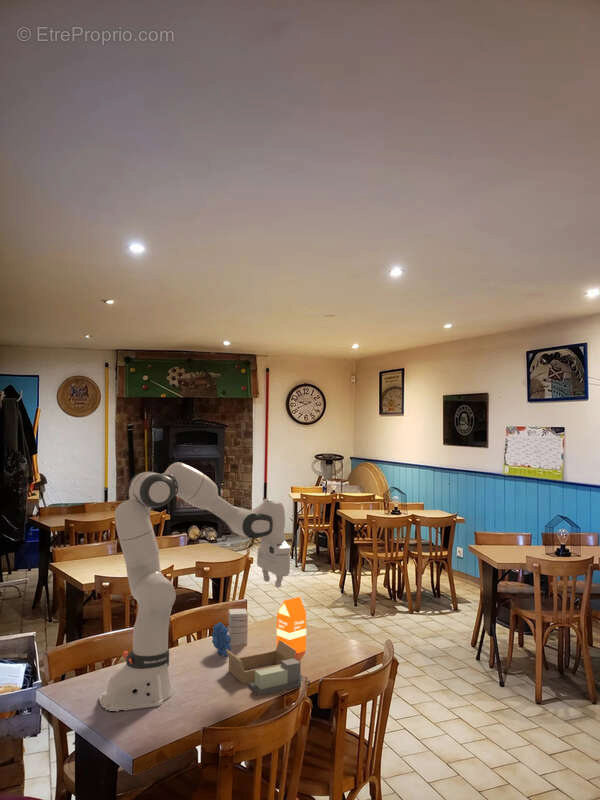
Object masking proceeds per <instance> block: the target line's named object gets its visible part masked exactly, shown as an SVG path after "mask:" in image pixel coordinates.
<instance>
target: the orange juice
mask: <svg viewBox="0 0 600 800" xmlns="http://www.w3.org/2000/svg"><path fill="white" fill-rule="evenodd" d="M279 640H281V641H282V642H284V643H285V644H287V645H288V646H290V647H292V648H293V649H295V650H296V653H297V654H299V653H303V652H306V651H307V611H306V609H305V607H304V604H303V601H302V599H301V597H300V596H299V597H293V598H290V599H286V600H285V599H284V600H283V601H282V604H281V606H280V607H279V609H278V611H277V613H276V646H277V645H278V642H279ZM305 650H306V651H305ZM302 651H303V652H302Z"/></svg>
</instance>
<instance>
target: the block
mask: <svg viewBox="0 0 600 800" xmlns="http://www.w3.org/2000/svg"><path fill="white" fill-rule="evenodd" d="M300 674H301V662H300V661H299V660H297V659H296V658H293V659H288V660H283V661H281V666H276V667H271V668H266V669H261V670H256V671H255V685H256V686H257V687H258V688H259V689H265V688H270V687H274V686H279V685H283V684H288V683H292V682H297V681H300Z"/></svg>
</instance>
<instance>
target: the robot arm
mask: <svg viewBox="0 0 600 800" xmlns="http://www.w3.org/2000/svg"><path fill="white" fill-rule="evenodd" d="M218 491H219V490H218V485H217V484H216V483H215V482H214V481H213V480H212V479H211V478H210V477H209V476H207V475H206V474H204V473H203V472H202V471H200V470H198V469H197V468H194V467H192V466H190V465H188V464H186V463H183V462H179V461H177V462H173V463H172V464H170V465H169V466H168V467H167V468H166V470H165V471H164V472H163V473H157V472H154V471H141V472H138V473H136V474H134V475H133V476H132V478H131V479H130V481H129V483H128V487H127V492H126V496H125V501H123V502H120V503H119V505H117V506H116V508H115V511H114V522H115V526H116V527H115V528H116V533H117V536H118V537H117V538H118V540H119V544H120V548H121V551H122V554H123V555H122V556H123V558H124V562H125V568H126V574H127V575H126V576H127V580H128V586H129V591H130V594H131V596H132V597H133V598H134V600H136V602H137V614H136V618H135V619H136V620H135V623H134V625H133V627H132V628H133V634H132V637H133V638H132V650H131V651H130V652H128V650H125V651H123V653H122V654H121V655H122V657H123V659H124V660H125V661H126V664H124V665H123V666H122V667H121V668H120V669H119V670H118V671H116V672H115V673H114V674H113V675H112V676H111V677H110V678H109V680H108V681H107V682H108V683H107V687H106V688H107V689H106V690H105V691H102V692H101V694H100V695H99V697H98V698H99V699H98V702H100V703H99V705H100V704H101V705H100V706H102V707H103V708H105V709H107V710H109V711H116V712H120V711H119V710H124V711H129V710H138V709H146V708H154V707H159V706H161V705H162V704H163V703H164V701H166V700H167V699H169V698H171V696H172V693H173V690H172V688H171V683H170V677H169V665H170V648H169V624H170V623H169V622H170V618H171V615H172V613H171V612H172V608H173V606H174V603H175V601H176V597H177V594H176V589H175V587H174V585H173V583H172V581H170V579H168V578H167V577H165V576H164V574H163V573H162V570H161V565H160V557H159V556H160V549H159V545H158V541H157V538H156V534H155V530H154V527H153V524H152V521H151V510H152V508H154V509H155V508H157V509H158V508H161V507H164V506H165V505H167V504H168V503H169V502H170V501H171V500H172V499H173V498H174V497H178V498H179V499H181V500H182V501H183V502H185V503H186V504H188V505H191V506H193V507H195V508H198V509H201V510H207V511H208V512H210V513H212V514H213V515H215V516H216V517H217V518H219V519H221V520H222V522H224V523H225V525H226V527H227V529H228V530H229V531H230V532H231V533H232V534H234V535H236V536H242V537H243V538H247V539H250V540H254V539H259V538H260V545H259V547H258V549H257V554H256V555H257V556H256V557H257V558H256V565H257V567H259V568H261V571H262V575H263V581H264V582H270V579H271V578H270V575H269V573H272V574H274V575H275V578H276V581H274V586H275V588H281V587H282V582H283V579H284V577H288V576H289V575H290V569H291V556H290V554H291V553H292V549H291V546H290V545H289V544H288V543H287V541H286V535H285V528H286V512H285V507H284V505H283V503H281V502H279V501H273V500H269V499H268V500H264V501H262V503H261V504H259V505H258V506H256V507H255V508H252V509H247V508H245V507H242V506H234V505H232V504H231V503H229V502H228V501H226V500H225V499H224V498H222V497H221V496H219V492H218ZM102 707H101V708H102ZM103 708H102V709H103ZM105 709H104V710H105ZM107 710H106V711H107ZM109 711H108V712H109Z"/></svg>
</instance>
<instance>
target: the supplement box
mask: <svg viewBox="0 0 600 800" xmlns="http://www.w3.org/2000/svg"><path fill="white" fill-rule="evenodd" d="M248 621H249V614H248V611H247V608H231V609H228V627H227V629H228V633H227V634H228V635H229V636H230V637H231V642H230V643H229V644H230V645H231V646H232V647H239V646H240V647H241V646H248V627H249V626H248V625H249V624H248V623H249V622H248Z"/></svg>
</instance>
